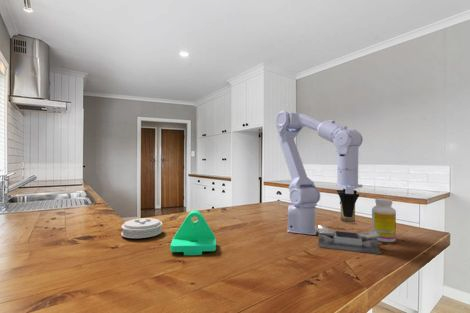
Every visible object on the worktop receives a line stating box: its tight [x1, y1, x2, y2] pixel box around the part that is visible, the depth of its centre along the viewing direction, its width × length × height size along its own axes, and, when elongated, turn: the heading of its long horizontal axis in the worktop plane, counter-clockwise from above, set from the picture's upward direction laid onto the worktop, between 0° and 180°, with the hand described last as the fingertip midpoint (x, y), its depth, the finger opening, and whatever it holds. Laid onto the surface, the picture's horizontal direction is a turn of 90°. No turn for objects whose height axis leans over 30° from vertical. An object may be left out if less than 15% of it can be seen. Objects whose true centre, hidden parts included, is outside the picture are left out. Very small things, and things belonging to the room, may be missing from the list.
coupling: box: [339, 198, 356, 224], centre depth 76 cm, size 4×4×7 cm
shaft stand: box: [316, 224, 382, 255], centre depth 76 cm, size 17×10×5 cm, turn 70°
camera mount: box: [169, 209, 217, 256], centre depth 70 cm, size 12×8×10 cm, turn 96°
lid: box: [120, 217, 163, 239], centre depth 84 cm, size 13×13×5 cm
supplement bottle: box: [371, 198, 397, 243], centre depth 81 cm, size 7×7×13 cm
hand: (347, 215), depth 76 cm, fingers closed on coupling, 4 cm apart
